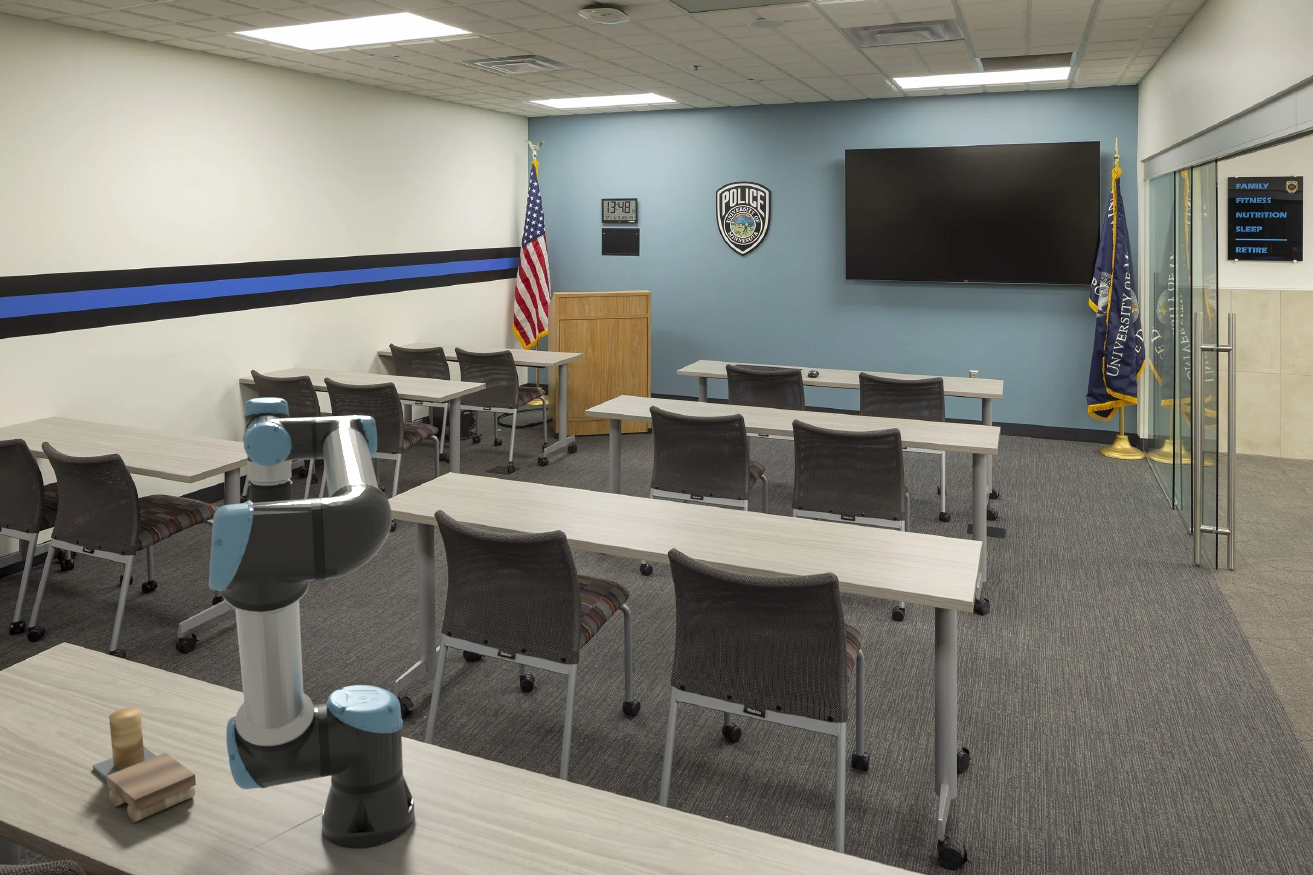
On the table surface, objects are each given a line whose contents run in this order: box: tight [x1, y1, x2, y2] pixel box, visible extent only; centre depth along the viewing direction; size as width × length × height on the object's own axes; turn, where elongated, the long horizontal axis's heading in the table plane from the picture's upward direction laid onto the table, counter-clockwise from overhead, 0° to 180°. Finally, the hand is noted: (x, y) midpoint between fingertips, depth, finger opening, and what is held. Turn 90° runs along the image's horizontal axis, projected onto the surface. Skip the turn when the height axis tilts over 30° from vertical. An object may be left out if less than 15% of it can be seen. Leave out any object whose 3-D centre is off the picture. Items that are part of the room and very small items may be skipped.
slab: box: [106, 752, 197, 824], centre depth 161 cm, size 11×10×5 cm
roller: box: [108, 707, 145, 771], centre depth 171 cm, size 5×5×10 cm
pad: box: [92, 745, 157, 782], centre depth 172 cm, size 9×9×1 cm
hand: (276, 588), depth 177 cm, fingers open, 13 cm apart
